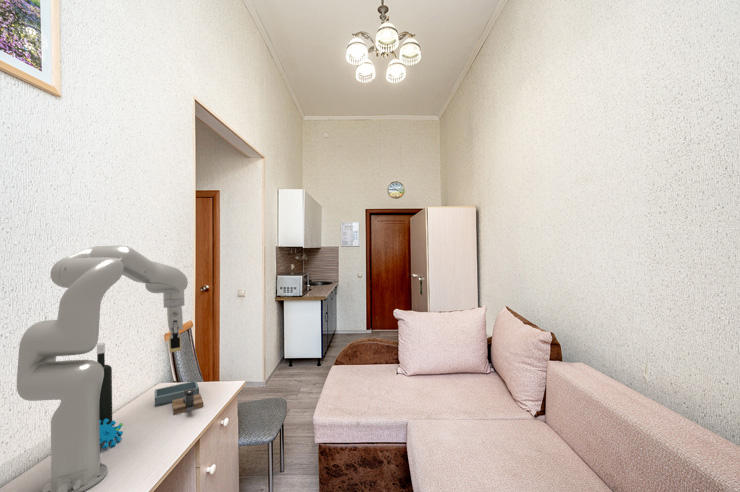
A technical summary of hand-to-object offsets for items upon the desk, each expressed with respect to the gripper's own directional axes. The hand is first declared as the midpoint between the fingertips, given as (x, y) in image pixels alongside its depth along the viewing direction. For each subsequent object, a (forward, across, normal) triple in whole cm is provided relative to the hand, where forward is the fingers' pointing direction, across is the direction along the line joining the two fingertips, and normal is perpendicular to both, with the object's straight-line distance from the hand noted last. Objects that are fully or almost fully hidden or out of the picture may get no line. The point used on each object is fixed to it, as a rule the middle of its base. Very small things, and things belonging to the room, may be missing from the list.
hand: (175, 346), depth 136 cm
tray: (+22, +2, 0) cm, 22 cm away
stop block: (+2, 0, 0) cm, 2 cm away
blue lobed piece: (+22, -26, +20) cm, 39 cm away
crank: (+19, -16, -3) cm, 25 cm away
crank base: (+22, -11, -3) cm, 25 cm away
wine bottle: (+22, -14, +23) cm, 34 cm away
